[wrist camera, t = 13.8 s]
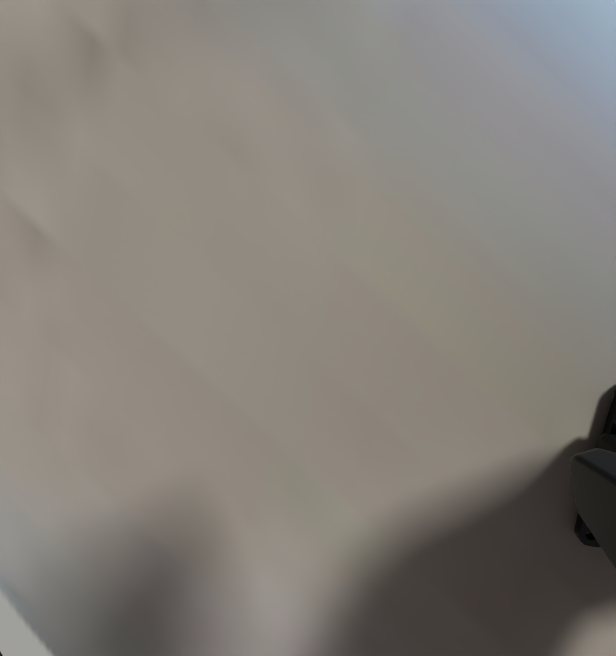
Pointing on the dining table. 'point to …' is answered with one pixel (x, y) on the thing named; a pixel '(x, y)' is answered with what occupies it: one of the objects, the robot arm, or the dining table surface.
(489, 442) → the dining table surface
